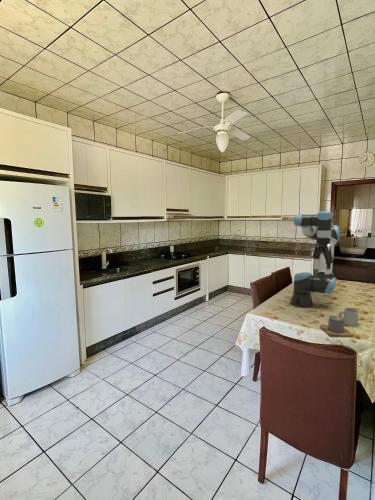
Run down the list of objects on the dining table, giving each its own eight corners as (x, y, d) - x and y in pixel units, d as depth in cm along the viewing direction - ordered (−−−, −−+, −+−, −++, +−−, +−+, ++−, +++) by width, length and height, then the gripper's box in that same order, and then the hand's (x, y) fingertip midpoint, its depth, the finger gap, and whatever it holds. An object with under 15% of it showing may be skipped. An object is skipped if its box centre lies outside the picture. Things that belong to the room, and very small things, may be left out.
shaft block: (319, 327, 150) (320, 317, 149) (341, 327, 150) (341, 317, 149) (330, 336, 138) (331, 325, 138) (353, 337, 138) (354, 326, 137)
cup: (357, 328, 149) (358, 313, 148) (337, 324, 154) (338, 310, 153) (357, 323, 155) (358, 309, 154) (338, 320, 160) (338, 306, 159)
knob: (326, 327, 148) (326, 314, 147) (339, 327, 147) (339, 314, 146) (332, 332, 141) (333, 319, 140) (346, 332, 140) (347, 319, 139)
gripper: (308, 235, 169) (306, 267, 172) (327, 239, 144) (325, 276, 147) (319, 235, 169) (318, 266, 172) (341, 239, 144) (339, 276, 147)
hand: (321, 271), depth 160 cm, fingers open, 13 cm apart
